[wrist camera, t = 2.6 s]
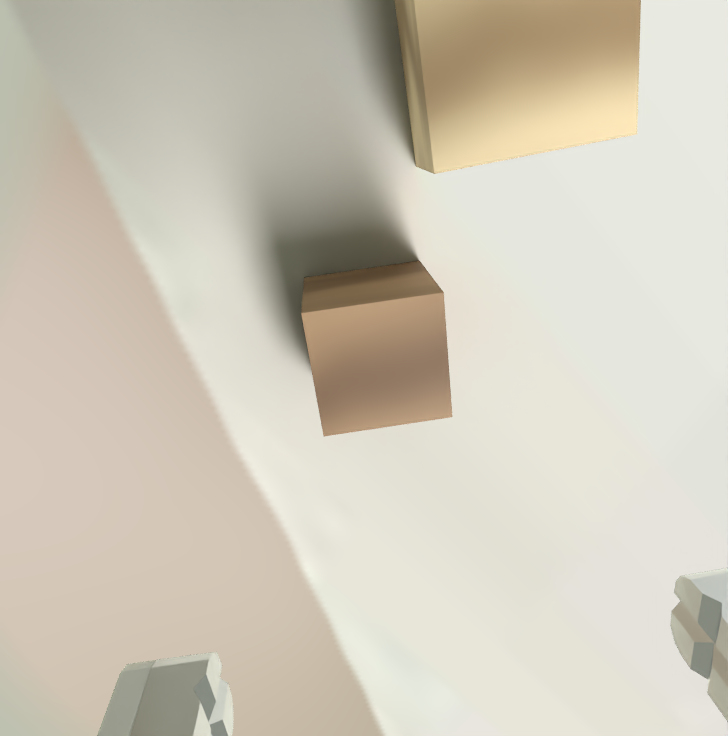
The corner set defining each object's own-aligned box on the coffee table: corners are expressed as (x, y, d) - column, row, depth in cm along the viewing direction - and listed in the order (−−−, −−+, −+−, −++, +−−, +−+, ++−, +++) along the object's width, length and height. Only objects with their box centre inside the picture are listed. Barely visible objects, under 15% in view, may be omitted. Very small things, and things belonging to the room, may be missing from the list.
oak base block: (388, -42, 19) (404, -81, 16) (582, -80, 19) (644, -128, 16) (415, 165, 22) (434, 174, 19) (584, 132, 22) (636, 134, 19)
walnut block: (304, 276, 24) (301, 313, 19) (419, 260, 24) (443, 292, 19) (322, 381, 26) (323, 436, 21) (428, 365, 26) (452, 417, 21)
